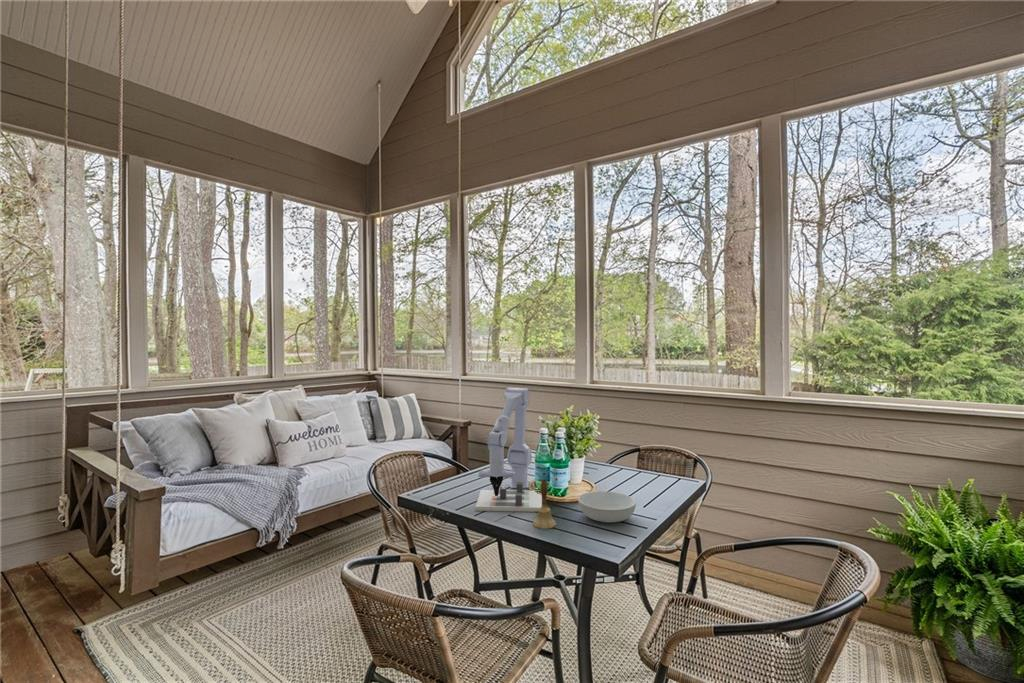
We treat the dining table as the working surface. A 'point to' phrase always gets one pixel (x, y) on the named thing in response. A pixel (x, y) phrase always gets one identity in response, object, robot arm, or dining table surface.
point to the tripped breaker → (502, 492)
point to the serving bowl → (606, 506)
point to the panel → (509, 500)
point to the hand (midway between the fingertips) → (496, 495)
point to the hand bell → (544, 511)
